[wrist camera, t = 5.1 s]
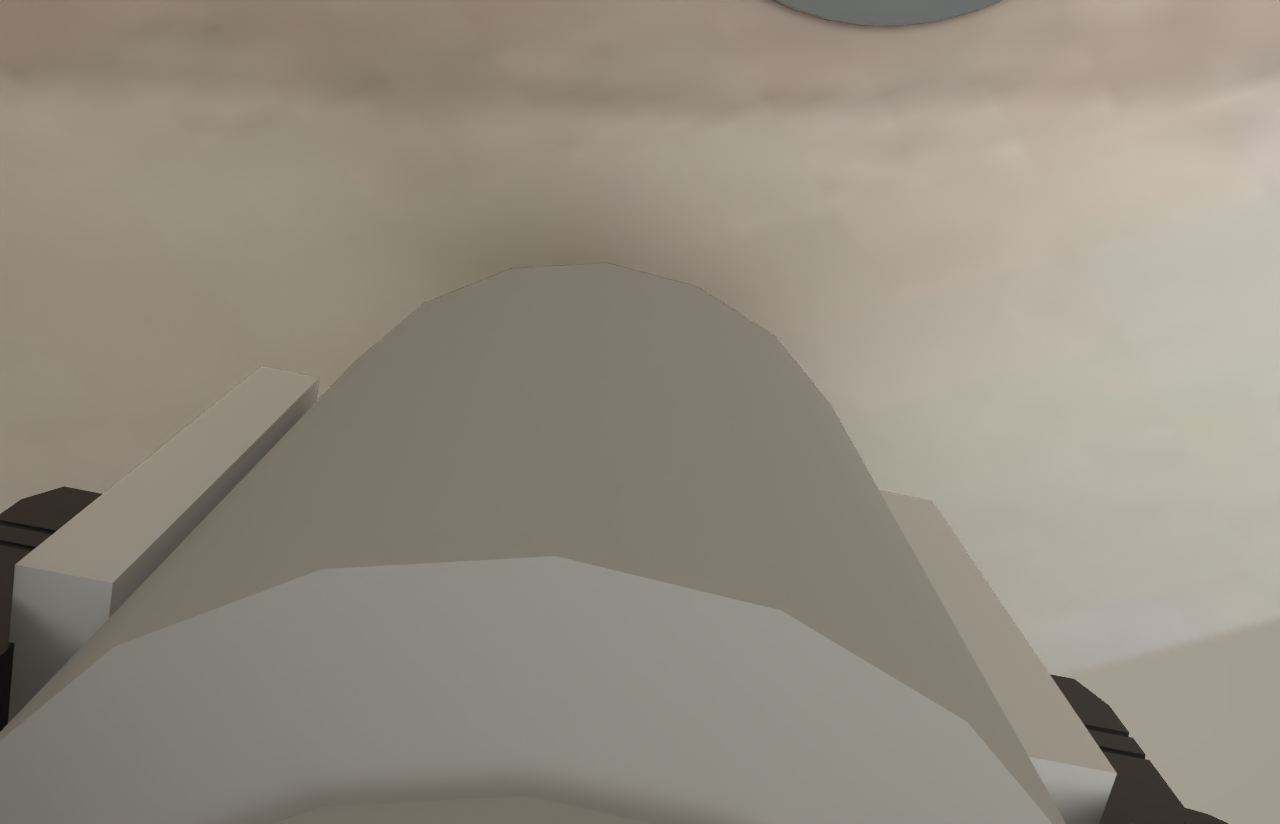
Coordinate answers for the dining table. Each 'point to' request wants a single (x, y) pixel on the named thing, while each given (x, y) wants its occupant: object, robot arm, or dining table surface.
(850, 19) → the saucer
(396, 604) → the can
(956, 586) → the robot arm
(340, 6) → the dining table surface
